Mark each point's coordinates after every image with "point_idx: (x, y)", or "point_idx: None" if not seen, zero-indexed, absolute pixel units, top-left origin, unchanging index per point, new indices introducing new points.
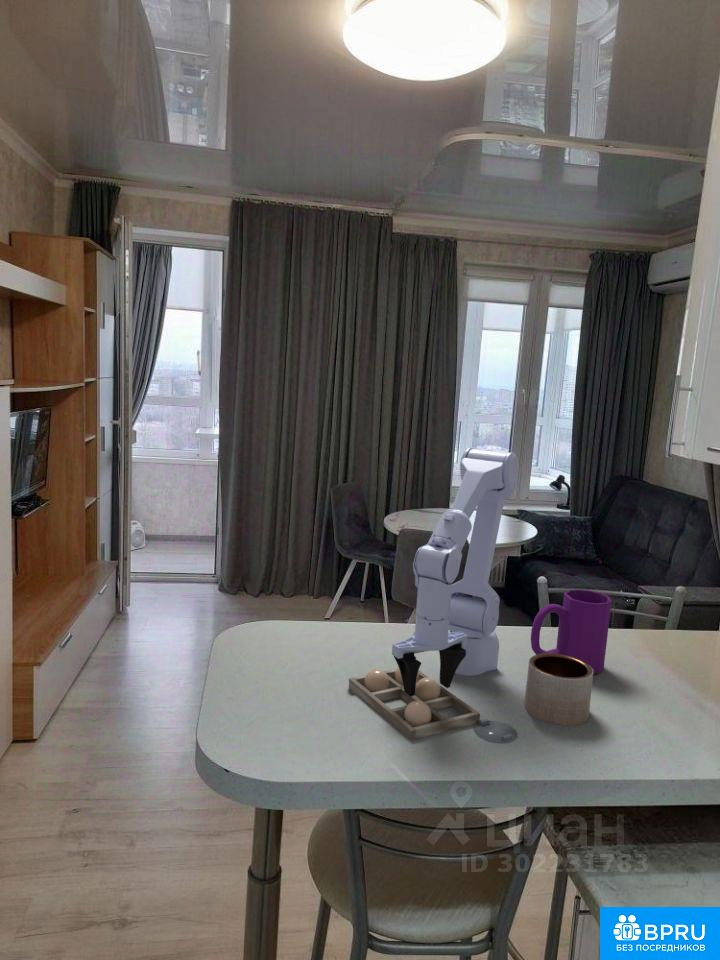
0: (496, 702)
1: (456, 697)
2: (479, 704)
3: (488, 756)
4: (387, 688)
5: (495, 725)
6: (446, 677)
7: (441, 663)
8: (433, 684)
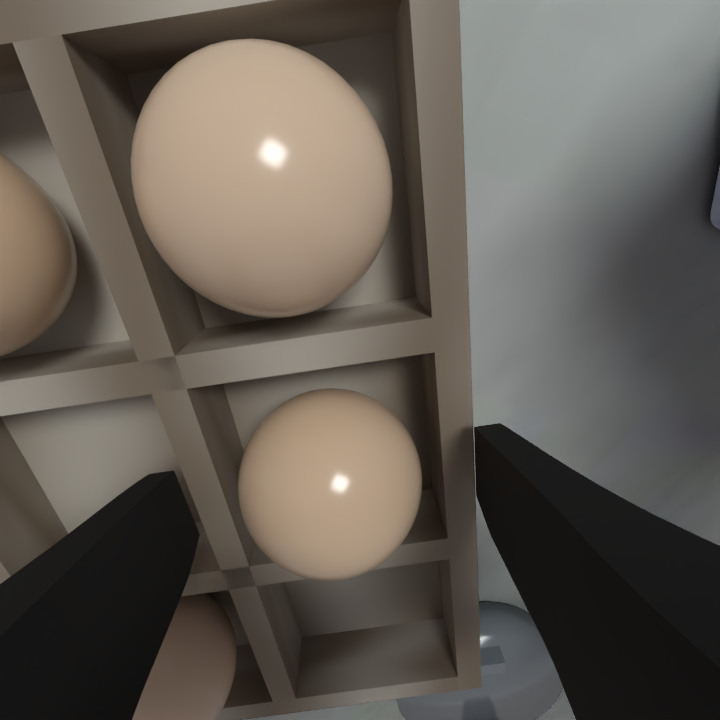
0: (713, 443)
1: (471, 563)
2: (621, 440)
3: (389, 705)
4: (63, 311)
5: (511, 668)
6: (507, 542)
7: (571, 546)
8: (348, 578)
